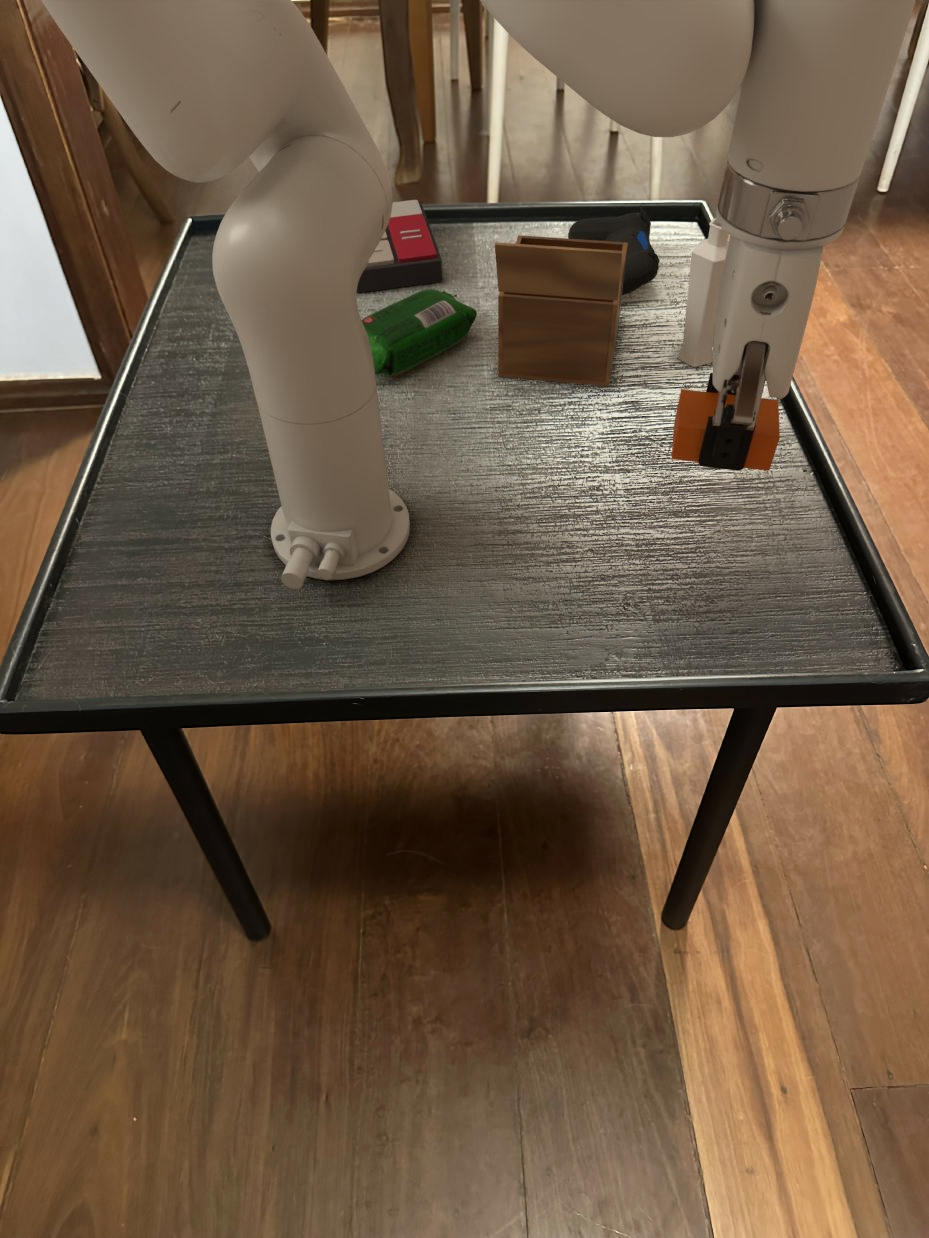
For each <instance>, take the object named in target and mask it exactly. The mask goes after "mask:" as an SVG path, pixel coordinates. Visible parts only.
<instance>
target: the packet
mask: <svg viewBox="0 0 929 1238" xmlns="http://www.w3.org/2000/svg"><path fill="white" fill-rule="evenodd" d="M717 395H718V393H711V392H706V391H704V390H703V391H701V390H692V389H683V388H681V389H680V392H679V398H678V403H677V407H676V412H675V417H674V423H673V433H672V437H673V438H672V445H671V446H672V448H671V460H676V461H677V460H678V461H684V462H693V463H699V454H700V450H701V446H702V442H703V438H704V433H705V429H706V425H707V421H708V417H709V416H711V417H713V414H714V409H715V405H716V400H717ZM735 396H736V395H729V394H727V399H726V404H725V407H726V406H727V405H728V404H732V405H733V404H734V401H735ZM779 404H780V403H779V399H775V398H774V399H773V398H765V397H762V398H761V402H760V406H759V410H758V414H757V419H756V427H755V431H754V434H753V438H752V441H751V445H750V448H749V452H748V455H747V458H746V462H745V465H744V468H743V469H751V470H759V471H768V472H769V471H770V470H771V468H772V464H773V461H774V458H775V454H776V451H777V448H778V445H779V442H780V438H781V433H780V429H781V428H780V408H779Z"/></svg>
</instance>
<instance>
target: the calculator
mask: <svg viewBox="0 0 929 1238" xmlns="http://www.w3.org/2000/svg"><path fill="white" fill-rule="evenodd" d="M422 204H423V203H422V202H421V200H419V199H418V200H417V199H409V200H402V201H393V202H392V211H391V216H390V220H389V223H388V225H387V228H386V230H385V232H384V234H383V236H382V238H381V240H380V242H379V244H378V245H377V247H376V249H375V250H374V252H373V254H372V256H371V257H370V259H369V262H368V264H367V266H366V268H365V269H364V271H363V273H362V275H361V277H360V279H359V282H358V286H357V293H359V294H360V293H366V292H374V291H379V290H380V291H381V290H388V289H397V288H404V287H405V288H406V287H411V286H412V287H413V286H420V285H427V284H435V283H440V282H442V281H443V263H442V261H443V260H442V255H441V254H440V251H439V248H438V246H437V243H436V240H435V237H434V233H433V231H432V229H431V226H430V223H429V219H428V218H427V215H426V212H425V210H424V207H423V205H422Z"/></svg>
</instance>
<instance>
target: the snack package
mask: <svg viewBox="0 0 929 1238" xmlns="http://www.w3.org/2000/svg"><path fill="white" fill-rule="evenodd" d="M456 297H457V298H458V295H457V293H456V294H455V295H452V294H451V293H448V292H447V291H445V290H443V291H440V290H438V289H436V288H435V289H434V288H426V289H423V290H419V291H418V292H415V293H413V294H410V295H409V296H407V297H405V298H403V299H400V300H398V301H396V302H394V303H392V304H389V305H387V306H385V307H384V308H381V309H379V310H377V311H375V312H373V313H371V314H369V315H367V316H365V317H364V318H362V319H361V320H362V323H363V325H364V327H365V330H366V332H367V335H368V338H369V341H370V345H371V350H372V356H373V362H374V370H375V376H376V375H383V376H386V377H397V376H400V375H402V374H404V373H406V372H408V371H410V370H411V369H413V368H415V367H417V366H419V365H420V364H422V363H424V362H425V361H428V360H430V359H432V358H434V357H436V356H437V355H440V354H441V353H443V352H445V351H446V350H448V349H450V348H451V347H453V346H455V345H457V344H459V342H461V341H462V340H464V339H465V338H466V336H467V335H468V334H469V332H470V330H471V328H472V325H473V324H474V322H475V320H476V319H477V316H478V312H477V310H476V309H475V308H473V307H472V306H469V305H467V304H464V303H462V302H460V301H458V300H457V299H456Z"/></svg>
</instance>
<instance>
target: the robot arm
mask: <svg viewBox="0 0 929 1238" xmlns="http://www.w3.org/2000/svg"><path fill="white" fill-rule="evenodd" d="M40 1H41V3H42V4H43V6H44V7H45V9H46V10H47V11H48V13H49V15H50V17H51V18H52V19H53V21H54V22H55V24H56V25H57V27H58V28H59V30H60V32H61V33H62V34H63V35H64V37H65V38H66V40H67V41H68V42H69V44H70V45H71V47H72V48H73V49H74V52H76V53H77V54H76V55H78V57H79V58H80V59H81V61H82V62H83V64H84V65H85V66H86V68H87V69H88V70H89V72H90V73H91V75H92V76H93V78H94V79H95V81H96V82H97V84H98V85H99V86H100V87H101V90H103V92H104V93H105V95H106V96H107V98H108V100H110V102H111V103H112V105H113V106H114V108H115V109H116V110H117V112H118V113H119V115H120V116H121V117H122V119H123V120H124V122H125V123H126V124H127V126H128V127H129V129H130V130H131V131H132V133H133V135H134V136H135V137H136V138H137V139H138V141H139V142H140V143H141V145H142V146H143V147H144V148H145V150H146V151H147V152H148V154H149V155H150V156H151V157H152V158H153V160H154V161H155V162H156V163H158V164H159V165H160V166H161V167H162V168H163V169H165V171H167V172H168V173H170V174H172V175H173V176H175V177H177V178H179V179H181V180H183V181H187V182H189V183H203V184H204V183H210V182H213V181H215V180H216V181H217V180H219V179H222V178H224V177H226V176H228V175H229V174H231V173H232V172H233V171H235V170H236V169H237V168H238V167H240V166H241V165H242V164H244V162H245V161H246V160H247V159H249V160H250V162H251V163H252V165H253V166H254V168H255V169H256V170H257V173H256V174H255V175H254V176H253V177H252V179H250V181H249V182H248V183H247V185H246V186H245V187H244V189H242V190H241V191H240V193H238V195H237V196H236V197H235V199H234V200H233V202H232V203H231V205H230V206H229V207H228V209H227V210H226V213H225V214H224V216H223V217H222V220H221V221H220V224H219V226H218V229H217V232H216V235H215V237H214V242H213V247H212V253H211V255H212V259H211V260H212V261H211V263H212V274H213V279H214V282H215V287H216V289H217V292H218V294H219V298H220V299H221V302H222V304H223V306H224V308H225V310H226V314H227V315H228V317H229V319H230V321H231V323H232V325H233V328H234V330H235V332H236V333H235V334H236V335H237V337H238V341H239V343H240V345H241V348H242V352H243V355H244V359H245V362H246V365H247V366H246V367H247V369H248V373H249V377H250V380H251V385H252V390H253V393H254V397H255V401H256V404H257V408H258V412H259V413H258V414H259V417H260V421H261V425H262V429H263V433H264V438H265V442H266V446H267V451H268V456H269V458H270V459H269V460H270V463H271V467H272V472H273V476H274V480H275V484H276V489H277V492H278V497H279V502H280V505H281V506H280V507H279V508H278V509H277V510H276V511H275V514H274V517H273V518H272V520H271V525H270V540H271V544H272V546H273V550H274V552H275V554H276V556H277V557H278V559H279V560H280V561H281V562H282V563H283V564H284V565H285V567H284V569H283V572H282V574H281V575H280V580H281V581H280V582H281V583H282V584H283V585H284V586H285V587H287V588H289V589H292V590H299V589H301V588H302V587H303V586H304V583H305V581H306V579H307V577H308V578H312V579H316V580H324V581H339V580H343V581H344V580H349V579H350V580H351V579H354V578H355V579H356V578H359V577H362V576H366V575H368V574H371V573H374V572H376V571H378V570H380V569H381V568H383V567H385V566H386V565H388V564H389V563H390V562H392V561H394V559H395V558H396V557H397V556H398V555H399V554H400V553H401V552H402V551H403V549H404V548H405V546H406V544H407V543H408V539H409V537H410V531H411V522H410V513H409V510H408V508H407V505H406V503H405V502H404V501H403V499H402V498H401V497H400V496H399V495H398V494H397V493H396V492H395V491H394V490H392V489H390V488H389V480H388V479H389V478H388V471H387V461H386V454H385V445H384V437H383V428H382V419H381V412H380V410H381V409H380V403H379V401H380V400H379V393H378V392H379V391H378V386H377V385H378V384H377V379H376V375H375V370H374V362H373V356H372V350H371V345H370V341H369V338H368V335H367V332H366V330H365V327H364V325H363V323H362V320H363V319H362V318H361V315H360V312H359V307H358V300H357V298H358V297H357V296H358V294H357V286H358V282H359V279H360V277H361V275H362V273H363V271H364V269H365V268H366V266H367V264H368V262H369V259H370V257H371V256H372V254H373V252H374V250H375V249H376V247H377V245H378V244H379V242H380V240H381V238H382V236H383V234H384V232H385V230H386V228H387V225H388V223H389V220H390V216H391V211H392V202H394V200H393V189H392V183H391V178H390V175H389V172H388V169H387V165H386V164H385V161H384V159H383V157H382V154H381V152H380V150H379V149H378V146H377V143H375V142H376V141H374V138H373V137H372V135H371V133H370V131H369V129H368V127H367V126H366V124H365V122H364V120H363V119H362V116H361V115H360V113H359V111H358V109H357V108H356V106H355V104H354V101H353V100H352V98H351V96H350V94H349V93H348V91H347V89H346V87H345V86H344V83H343V82H342V80H341V78H340V77H339V75H338V73H337V71H336V69H335V67H334V66H333V63H332V62H331V60H330V58H329V57H328V54H327V53H326V50H325V49H324V47H323V45H322V44H321V42H320V40H319V39H318V37H317V35H316V33H315V31H314V30H313V28H312V26H311V25H310V23H309V22H308V20H307V18H306V17H305V15H304V14H303V13H302V11H301V10H300V9H299V7H298V6H297V5H296V4H295V3H294V1H292V0H40ZM916 1H917V0H479V2H480V3H481V4H482V5H483V6H484V8H485V9H486V10H487V12H488V13H489V14H490V15H491V17H493V19H494V20H496V22H497V23H498V24H499V25H500V26H501V27H502V28H503V30H505V31H506V33H507V34H508V35H509V36H510V37H511V38H512V39H513V40H514V41H515V42H517V44H518V45H520V47H521V48H523V49H524V50H525V51H526V52H527V53H528V54H529V55H530V56H532V58H534V59H535V60H536V61H538V63H539V64H541V65H542V66H543V67H544V68H546V69H547V70H548V71H549V72H551V74H553V75H554V76H555V77H557V78H558V79H559V80H560V81H561V82H563V83H564V84H565V85H566V86H568V87H569V88H570V89H571V90H572V91H574V92H575V94H577V95H579V96H580V97H581V98H582V99H583V100H585V102H587V103H588V104H589V105H590V106H591V107H592V108H595V110H597V111H598V112H600V113H601V114H602V115H604V116H606V118H608V119H610V120H611V121H613V122H615V123H617V124H618V125H619V126H622V127H623V128H626V129H628V130H630V131H633V132H635V133H638V134H640V135H645V136H649V137H653V138H675V137H680V136H685V135H689V134H690V133H693V132H695V131H697V130H699V129H702V128H703V127H705V126H706V125H707V124H709V123H710V122H712V121H713V120H715V119H716V118H717V117H718V116H719V115H720V114H721V113H722V112H723V111H724V110H725V109H726V108H727V107H728V105H729V104H730V103H731V102H732V100H733V99H734V98H735V96H736V95H737V93H738V91H739V98H738V103H737V108H736V112H735V116H734V117H735V118H734V122H733V127H732V132H731V138H730V142H729V147H728V152H727V156H726V160H725V165H724V170H723V176H722V179H721V185H720V190H719V194H718V199H717V205H716V208H715V218H716V220H717V222H718V224H719V225H720V226H721V228H723V229H724V230H725V231H726V232H727V233H729V234H728V235H730V236H729V238H728V239H729V240H728V241H729V244H728V248H727V253H726V258H725V262H724V267H723V272H722V277H721V282H720V287H719V293H718V300H717V306H716V315H715V325H714V340H713V347H712V353H713V362H712V372H710V373H709V377H708V381H707V385H706V389H705V392H711V393H718V395H717V400H716V405H715V409H714V414H713V417H711V416H709V417H708V421H707V425H706V429H705V433H704V438H703V442H702V446H701V450H700V454H699V462H698V465H699V466H700V467H703V468H711V469H720V470H726V471H727V470H729V471H736V472H740V471H742V470H743V469H745V468H744V465H745V462H746V458H747V455H748V452H749V448H750V445H751V441H752V438H753V434H754V431H755V427H756V419H757V414H758V410H759V406H760V402H761V398H763V393H764V390H765V385H766V387H767V391H768V396H769V398H776V400H782V399H784V398H785V397H786V396H787V395H788V394H789V392H790V388H791V385H792V381H793V377H794V373H795V370H796V366H797V362H798V358H799V354H800V350H801V346H802V343H803V339H804V335H805V332H806V328H807V325H808V320H809V317H810V313H811V308H812V305H813V300H814V297H815V292H816V287H817V283H818V278H819V273H820V267H821V263H822V257H823V251H824V246H828V245H830V244H832V243H834V242H835V241H836V240H838V239H839V238H840V236H841V235H842V234H843V232H844V229H845V225H846V223H847V220H848V216H849V213H850V211H851V207H852V204H853V201H854V197H855V194H856V192H857V188H858V185H859V182H860V178H861V174H862V171H863V168H864V166H865V164H866V163H865V162H866V159H867V156H868V153H869V150H870V147H871V144H872V140H873V138H874V134H875V132H876V131H875V130H876V128H877V125H878V121H879V119H880V116H881V112H882V109H883V106H884V103H885V99H886V97H887V93H888V90H889V86H890V84H891V81H892V77H893V74H894V71H895V68H896V65H897V63H898V58H899V56H900V52H901V49H902V46H903V42H904V40H905V36H906V33H907V30H908V27H909V24H910V20H911V19H912V18H911V17H912V15H913V11H914V8H915V4H916ZM739 89H740V90H739ZM727 394H729V395H736V396H735V401H734V404H733V405H732V404H728V405H727V406H726V407H725V404H726V399H727Z"/></svg>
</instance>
